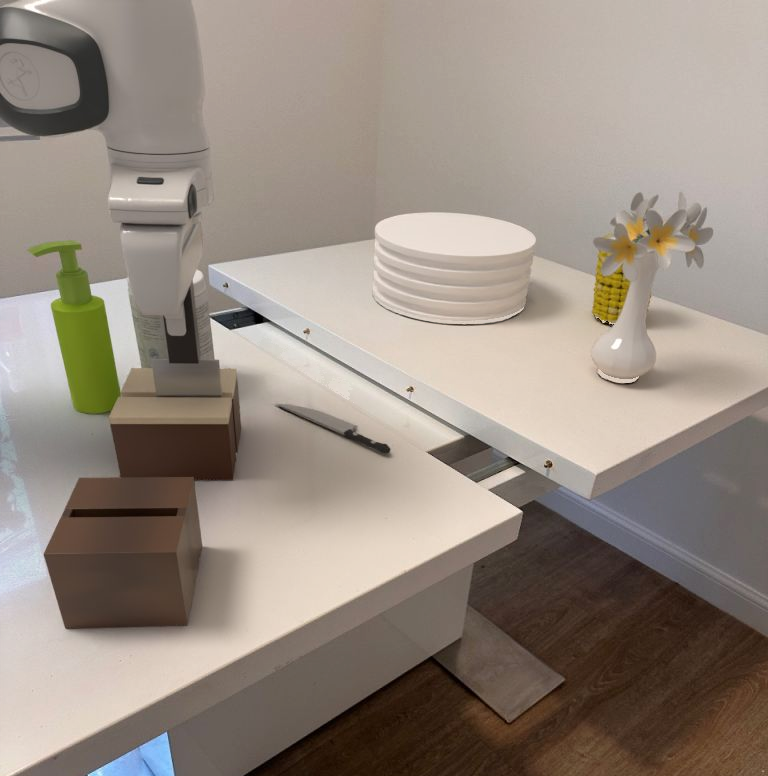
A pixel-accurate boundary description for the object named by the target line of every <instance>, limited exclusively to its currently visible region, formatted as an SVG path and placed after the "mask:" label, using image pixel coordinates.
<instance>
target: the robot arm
mask: <svg viewBox="0 0 768 776" xmlns="http://www.w3.org/2000/svg"><path fill="white" fill-rule="evenodd" d="M202 57H203V56H202V50H201V43H200V35H199V29H198V24H197V18H196V15H195V9H194V5H193V2H192V0H0V119H1V121H3V122H5V123H6V125H8V126H10V127H11V128H13V129H14V130H16V131H19V132H21V133H23V134H26V135H30V136H33V137H42V138H51V139H52V138H53V139H54V138H55V139H56V138H63V137H65V136H69V135H73V134H76V133H81V132H83V131H87V130H89V131H97V132H99V133H101V135H103V137H104V140H105V145H106V150H107V151H106V152H107V159H108V164H109V175H110V177H109V178H110V186H109V192H108V195H107V207H108V213H109V217H110V220H111V222H112V223H115V224H120V226H119V237H120V238H119V239H120V244H121V250H122V256H123V260H124V265H125V269H126V274H127V278H129V282H130V287H131V291H132V295H133V299H134V302H135V304H136V306H137V308H138V310H139V311H140V313H141V314H143V315H155V316H165V319H166V325H167V332H168V333H169V334H170V335H171V336H183V335H185V333H186V331H187V318H186V314H185V311H184V303H183V302H184V300H185V297H186V295H187V292H188V290H189V287H190V285H191V282H192V280H193V277H194V274H195V272H196V269H197V270H198V267H199V264H200V261H201V259H202V257H203V254H204V235H203V227H202V220H203V215H202V210H203V208H206V207H208V206H210V205H212V204H213V203H214V201H215V196H214V185H213V173H212V172H213V171H212V159H211V150H210V141H209V136H208V134H207V131H206V128H205V124H204V123H205V122H204V118H203V106H204V99H205V93H206V92H205V91H206V88H205V77H204V67H203V58H202Z"/></svg>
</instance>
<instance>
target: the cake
mask: <svg viewBox="0 0 768 776" xmlns="http://www.w3.org/2000/svg"><path fill="white" fill-rule="evenodd" d="M220 374H221V385H222V396H223V398H232V409H233V422H234V434H235V446H236V454H238V452H239V444H240V438H241V433H242V432H241V431H242V419H241V418H242V417H241V405H240V393H239V380H238V369H237V368H220ZM120 392H121V397H156V390H155V383H154V377H153V370H152V368H142V367H131V368H130V371H129V373H128V375H127V377H126V380H125V382H124V383H123V386H122V388H121V389H120Z"/></svg>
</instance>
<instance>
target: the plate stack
mask: <svg viewBox="0 0 768 776" xmlns="http://www.w3.org/2000/svg"><path fill="white" fill-rule="evenodd" d="M374 239H375V241H374V242H373V243H374V244H373V245H374V246H373V247H374V248H373V251H374V256H373V268H374V269H373V273H372V282H373V284H372V295H373V294H374V296H375V297H376V298H377V299H378V300H379V301H380V302H382V303H383V304H385V305H387V306H389V307H391V308H394V309H397V310H400V311H403V312H405V313H409V314H413V315H417V316H420V317H425V318H431V319H440V320H452V321H472V320H473V321H475V320H488V319H494V318H500V317H504V316H507V315H510V314H513V313H515V312H517V311H519V310H520V309H522V308H523V307H524V306H525V307H526V305H525V304H527V295H528V292H529V285H530V284H529V282H530V279H531V275H532V265H533V263H534V257H535V256H534V251H535V249H536V244H537V238H536V236H535V235H534V234H533V233H532V232H531V231H530V230H528V229H527V228H525V227H523V226H520V225H518V224H515V223H512V222H509V221H506V220H502V219H498V218H494V217H488V216H483V215H477V214H468V213H459V212H443V211H442V212H441V211H440V212H439V211H436V212H435V211H434V212H433V211H432V212H427V211H426V212H412V213H404V214H399V215H394V216H390V217H387V218H385V219H382V220H380V221H379V222H377V223H376V224H375V226H374Z"/></svg>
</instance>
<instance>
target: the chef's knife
mask: <svg viewBox="0 0 768 776" xmlns="http://www.w3.org/2000/svg"><path fill="white" fill-rule="evenodd" d="M273 404H274V405H276V406H278V407H279V408H281V409H284V410H286V411H288V412H290V413H292V414H295V415H297V416H299V417H301V418H304V419H305V420H307V421H311V422H313V423H314V424H317V425H319V426H322V427H324V428H326V429H329V430H331V431H333V432H335V433H338V434H340V435H342V436H344V437H346V438H348V439H351V440H353V441H355V442H358V443H360V444H363V445H364V446H368V447H370V448H372V449H374V450H376V451H378V452H380V453H383V454H389V453H390V452H391V447H390V446H389V445H388V444H387V443H383V442H379V441H376V440H374V439H371V438H369V437H366V436H364V435H363V434H360V433H359V432H356V431H354V430H355V429H356V428H357V427H358V425H357V424H354V423H352V422H349V421H346V420H344V419H341V418H339V417H336V416H334V415H331V414H329V413H326V412H324V411H320V410H317V409H314V408H310V407H305V406H299V405H294V404H289V403H277V402H276V403H273Z"/></svg>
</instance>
